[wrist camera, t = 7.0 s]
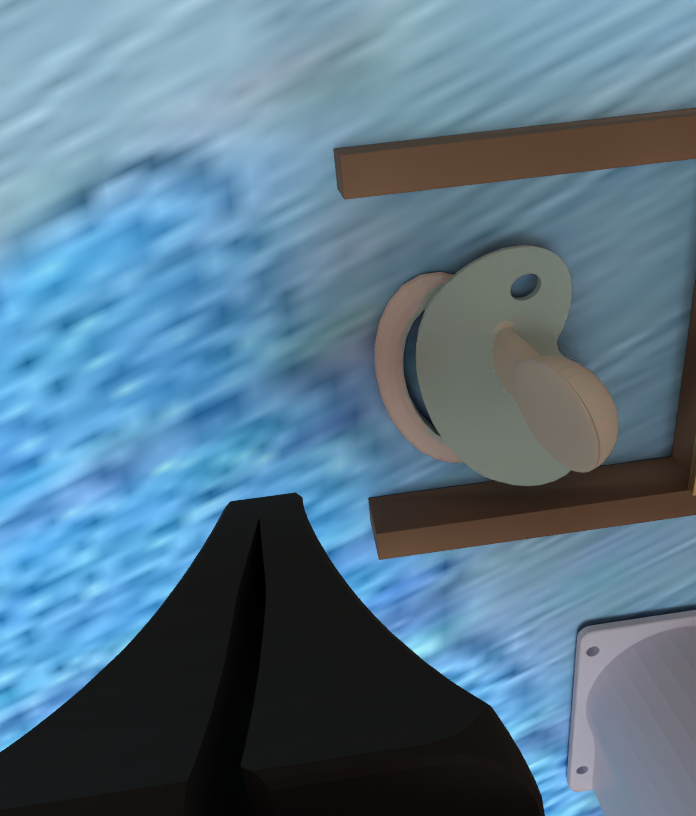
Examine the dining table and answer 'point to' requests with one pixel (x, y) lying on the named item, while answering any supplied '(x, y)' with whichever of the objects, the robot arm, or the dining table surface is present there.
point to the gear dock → (575, 492)
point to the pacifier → (495, 371)
